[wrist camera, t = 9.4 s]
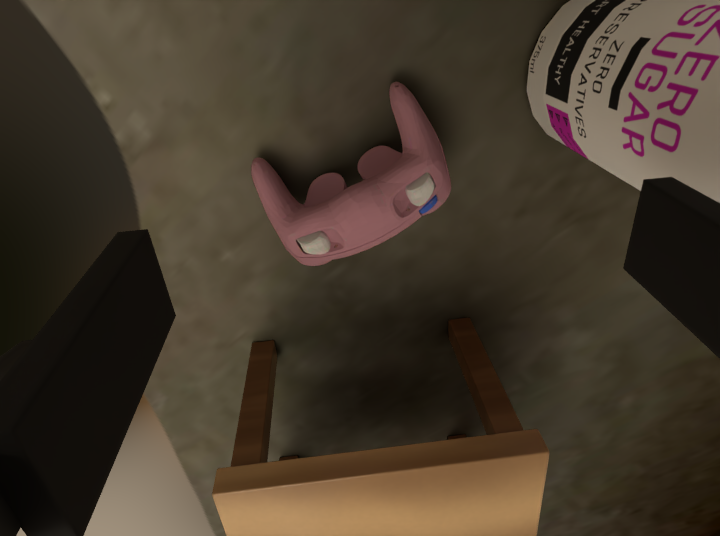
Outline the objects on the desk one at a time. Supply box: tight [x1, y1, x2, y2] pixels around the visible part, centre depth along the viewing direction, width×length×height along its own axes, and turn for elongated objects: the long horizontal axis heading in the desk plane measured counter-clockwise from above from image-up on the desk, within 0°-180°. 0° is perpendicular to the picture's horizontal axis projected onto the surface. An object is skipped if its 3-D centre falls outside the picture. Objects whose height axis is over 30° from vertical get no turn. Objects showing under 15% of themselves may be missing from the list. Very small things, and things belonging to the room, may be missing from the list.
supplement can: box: [527, 0, 720, 203], centre depth 20 cm, size 8×8×15 cm
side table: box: [212, 317, 549, 536], centre depth 32 cm, size 14×16×12 cm
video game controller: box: [251, 82, 451, 266], centre depth 26 cm, size 10×5×7 cm, turn 117°
